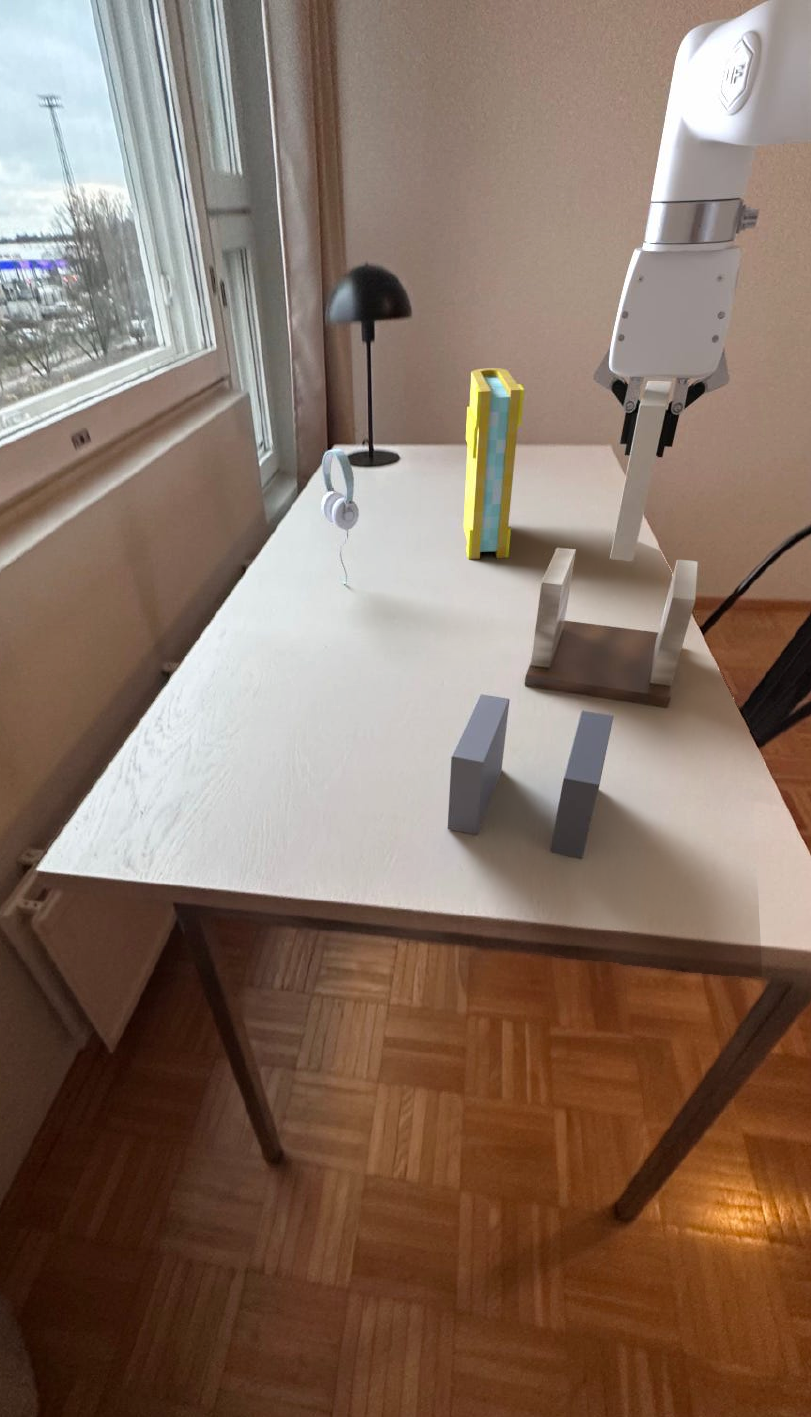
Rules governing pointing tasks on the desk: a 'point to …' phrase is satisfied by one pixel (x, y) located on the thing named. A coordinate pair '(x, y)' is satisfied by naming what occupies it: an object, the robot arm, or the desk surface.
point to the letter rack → (608, 642)
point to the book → (490, 460)
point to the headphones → (339, 495)
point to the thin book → (640, 469)
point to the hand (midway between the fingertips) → (644, 451)
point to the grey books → (482, 765)
